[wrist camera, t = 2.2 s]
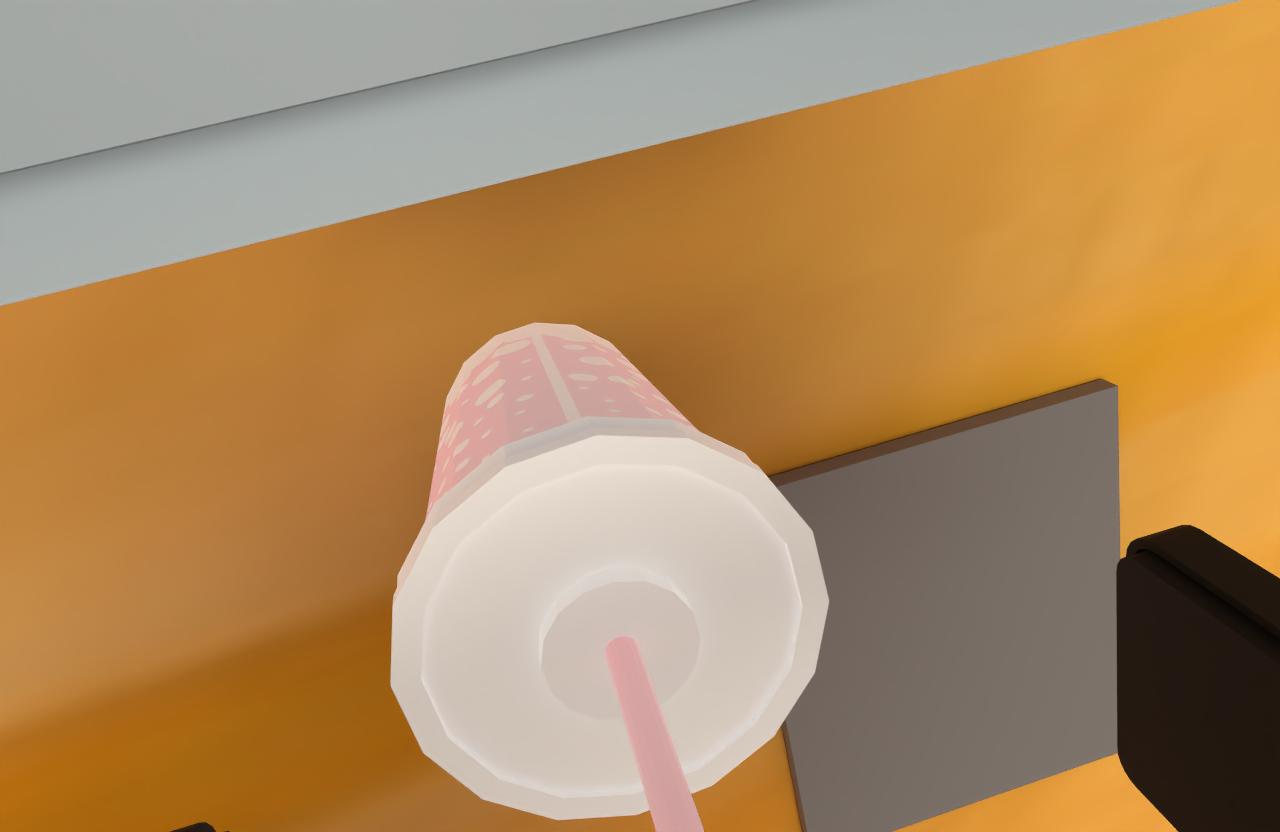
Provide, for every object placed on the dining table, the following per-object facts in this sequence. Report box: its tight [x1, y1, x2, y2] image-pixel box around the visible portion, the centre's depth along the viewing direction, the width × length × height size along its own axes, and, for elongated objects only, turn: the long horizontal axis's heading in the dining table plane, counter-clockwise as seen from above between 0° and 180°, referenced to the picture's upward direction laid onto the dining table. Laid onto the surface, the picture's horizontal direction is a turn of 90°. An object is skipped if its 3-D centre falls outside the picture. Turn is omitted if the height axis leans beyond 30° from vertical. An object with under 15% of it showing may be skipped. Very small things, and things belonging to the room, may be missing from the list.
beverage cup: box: [390, 323, 829, 832], centre depth 14 cm, size 6×6×14 cm
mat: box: [768, 379, 1120, 832], centre depth 25 cm, size 12×10×1 cm
